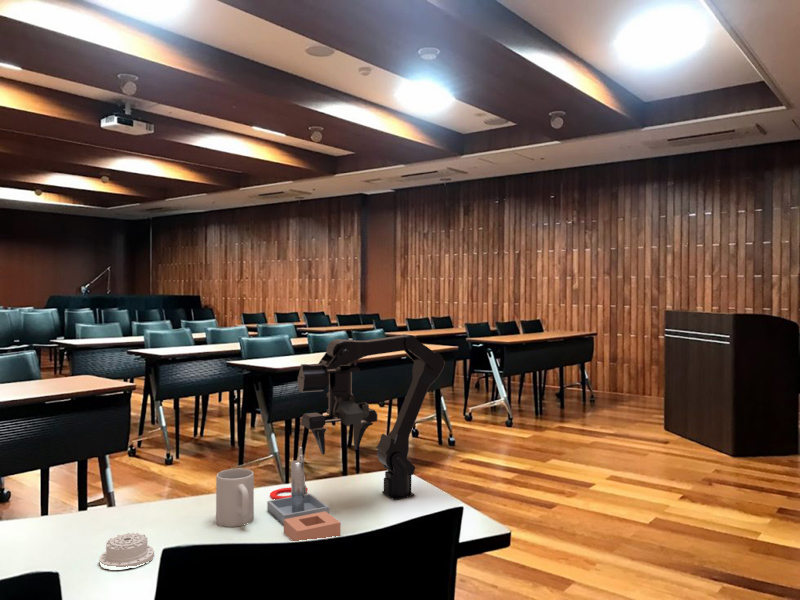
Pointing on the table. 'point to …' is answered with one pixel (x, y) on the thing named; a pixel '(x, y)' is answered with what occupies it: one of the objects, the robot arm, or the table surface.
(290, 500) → the tray
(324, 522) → the block
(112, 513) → the table surface
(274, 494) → the tow hook
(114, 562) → the mechanical component
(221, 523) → the mug
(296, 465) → the pin
